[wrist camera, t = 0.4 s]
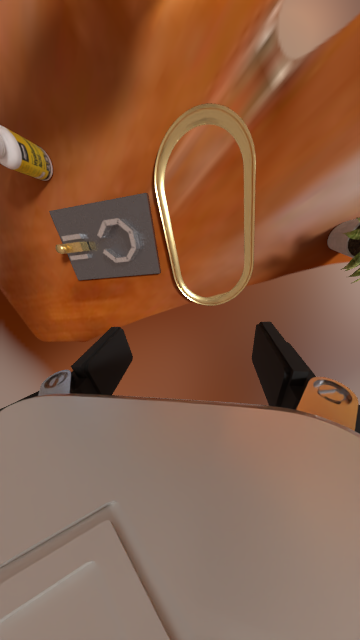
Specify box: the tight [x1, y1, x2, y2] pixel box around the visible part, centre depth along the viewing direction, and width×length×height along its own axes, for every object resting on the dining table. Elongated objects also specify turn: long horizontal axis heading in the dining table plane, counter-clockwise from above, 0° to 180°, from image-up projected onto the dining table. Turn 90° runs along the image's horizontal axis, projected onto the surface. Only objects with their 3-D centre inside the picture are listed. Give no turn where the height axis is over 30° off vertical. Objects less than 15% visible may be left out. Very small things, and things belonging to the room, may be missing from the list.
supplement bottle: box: [0, 125, 53, 181], centre depth 27 cm, size 5×5×10 cm
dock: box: [49, 193, 161, 280], centre depth 36 cm, size 16×24×4 cm, turn 96°
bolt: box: [56, 242, 90, 254], centre depth 36 cm, size 2×6×4 cm, turn 96°
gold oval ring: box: [154, 103, 256, 305], centre depth 33 cm, size 19×35×2 cm, turn 12°
